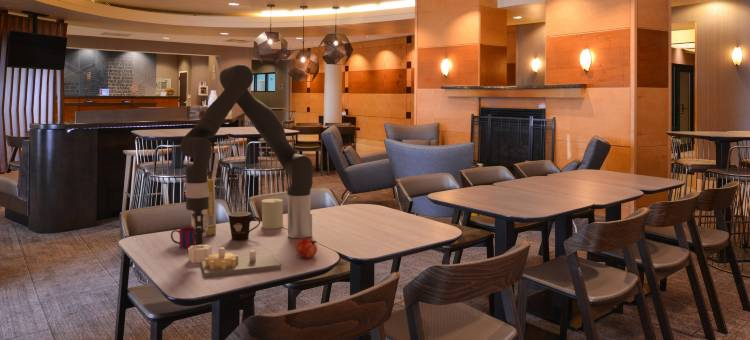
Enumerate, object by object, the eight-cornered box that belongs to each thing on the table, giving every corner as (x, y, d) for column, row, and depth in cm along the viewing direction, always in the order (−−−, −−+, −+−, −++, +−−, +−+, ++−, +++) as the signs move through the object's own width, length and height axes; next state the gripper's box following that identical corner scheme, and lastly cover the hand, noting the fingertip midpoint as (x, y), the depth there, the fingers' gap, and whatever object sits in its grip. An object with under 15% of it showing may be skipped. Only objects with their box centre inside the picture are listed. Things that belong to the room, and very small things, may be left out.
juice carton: (219, 233, 228) (217, 176, 224) (204, 238, 221) (201, 178, 218) (203, 230, 233) (201, 174, 229) (188, 234, 226) (186, 176, 223)
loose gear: (210, 256, 197) (210, 243, 196) (212, 261, 191) (212, 248, 190) (188, 258, 194) (187, 246, 193) (189, 263, 188) (188, 250, 187)
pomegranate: (293, 265, 193) (312, 252, 189) (285, 247, 196) (303, 233, 191) (307, 262, 200) (326, 249, 195) (299, 245, 202) (317, 231, 197)
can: (273, 230, 235) (272, 202, 233) (257, 227, 240) (256, 199, 238) (287, 225, 242) (287, 198, 241) (272, 223, 247) (271, 196, 246)
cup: (195, 249, 206) (194, 231, 205) (168, 248, 206) (167, 230, 205) (201, 244, 212) (200, 226, 211) (176, 243, 213) (175, 226, 212)
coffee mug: (224, 240, 218) (223, 215, 217) (237, 235, 226) (237, 211, 225) (249, 243, 214) (248, 217, 213) (261, 237, 222) (261, 213, 220)
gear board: (272, 257, 195) (272, 238, 194) (280, 269, 183) (280, 248, 182) (201, 264, 187) (200, 244, 186) (205, 277, 174) (204, 255, 173)
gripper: (210, 198, 184) (211, 245, 186) (207, 191, 197) (208, 235, 199) (186, 199, 181) (188, 247, 183) (184, 192, 195) (186, 237, 197)
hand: (198, 241), depth 191 cm, fingers open, 8 cm apart
